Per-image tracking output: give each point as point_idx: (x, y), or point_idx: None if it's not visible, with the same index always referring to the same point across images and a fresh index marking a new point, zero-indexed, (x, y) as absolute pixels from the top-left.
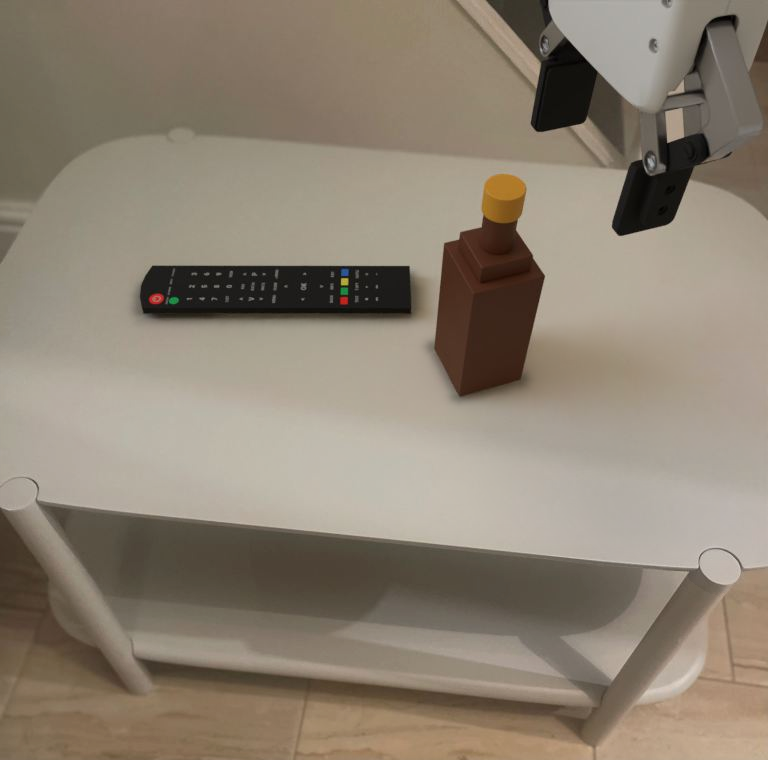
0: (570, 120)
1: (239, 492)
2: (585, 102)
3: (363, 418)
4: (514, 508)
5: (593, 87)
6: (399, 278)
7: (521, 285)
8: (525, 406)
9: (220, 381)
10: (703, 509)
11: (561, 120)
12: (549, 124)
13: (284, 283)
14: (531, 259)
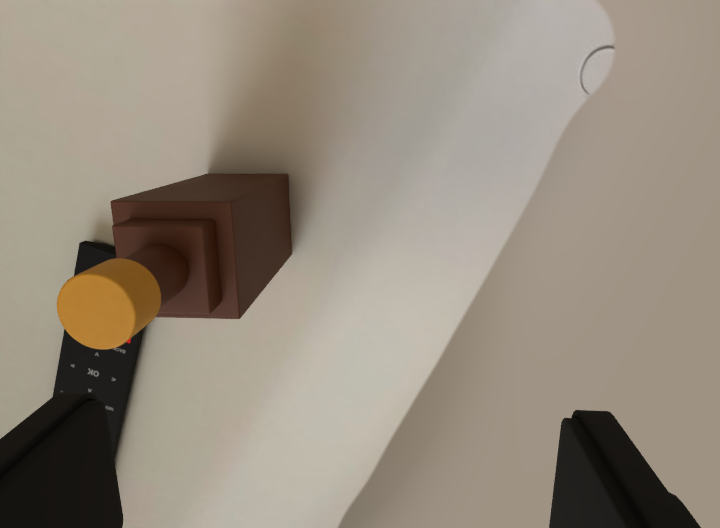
0: (99, 454)
1: (338, 486)
2: (57, 454)
3: (289, 359)
4: (448, 258)
5: (16, 475)
6: (100, 263)
7: (236, 240)
8: (327, 186)
9: (204, 470)
10: (534, 48)
11: (99, 485)
12: (109, 515)
13: (84, 390)
14: (205, 226)
